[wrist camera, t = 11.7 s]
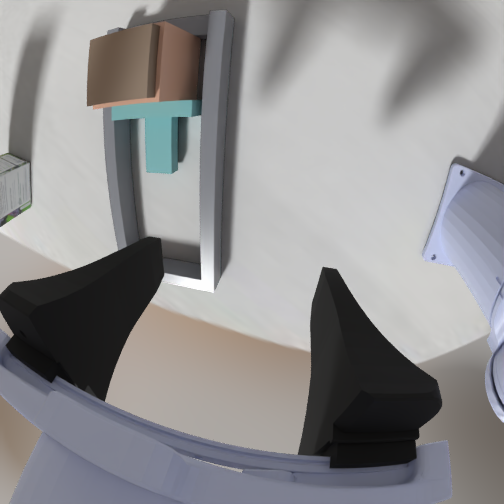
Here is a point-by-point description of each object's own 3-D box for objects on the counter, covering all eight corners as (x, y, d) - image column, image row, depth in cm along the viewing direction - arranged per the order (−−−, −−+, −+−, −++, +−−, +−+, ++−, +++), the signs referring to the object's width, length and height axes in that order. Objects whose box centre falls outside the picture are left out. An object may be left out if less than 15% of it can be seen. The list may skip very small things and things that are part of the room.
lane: (234, 18, 12) (226, 9, 10) (220, 277, 23) (214, 292, 21) (123, 34, 13) (107, 30, 11) (134, 260, 24) (123, 273, 22)
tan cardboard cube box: (201, 38, 13) (157, 17, 8) (196, 99, 16) (151, 102, 10) (142, 46, 14) (87, 37, 9) (139, 102, 16) (83, 111, 11)
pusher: (205, 99, 15) (192, 100, 13) (203, 171, 18) (190, 181, 16) (131, 103, 16) (111, 106, 14) (133, 167, 18) (115, 176, 16)
